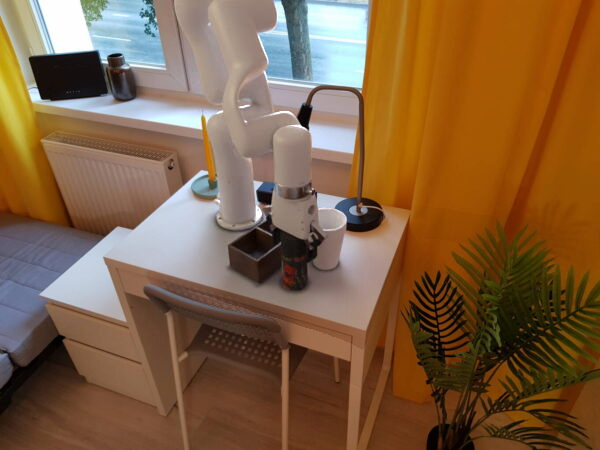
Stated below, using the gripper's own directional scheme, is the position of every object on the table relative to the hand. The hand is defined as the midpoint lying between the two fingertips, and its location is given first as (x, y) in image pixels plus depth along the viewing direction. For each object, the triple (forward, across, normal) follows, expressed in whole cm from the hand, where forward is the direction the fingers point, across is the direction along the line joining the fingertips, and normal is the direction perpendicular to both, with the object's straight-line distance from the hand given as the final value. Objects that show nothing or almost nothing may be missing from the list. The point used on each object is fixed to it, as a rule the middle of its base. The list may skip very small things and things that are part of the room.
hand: (294, 250), depth 110 cm
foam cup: (+10, -1, -10) cm, 14 cm away
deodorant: (+10, 0, 0) cm, 10 cm away
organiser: (+10, +11, -4) cm, 15 cm away
